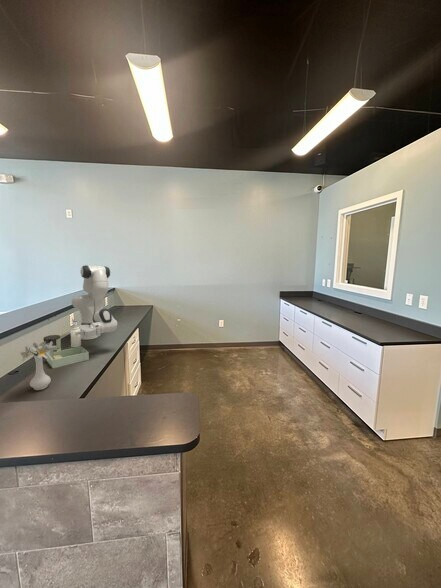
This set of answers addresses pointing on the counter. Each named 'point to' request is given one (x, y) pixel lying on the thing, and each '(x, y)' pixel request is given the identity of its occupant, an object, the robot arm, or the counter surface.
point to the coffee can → (54, 339)
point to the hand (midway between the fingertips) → (73, 332)
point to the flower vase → (39, 363)
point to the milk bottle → (75, 338)
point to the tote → (68, 357)
